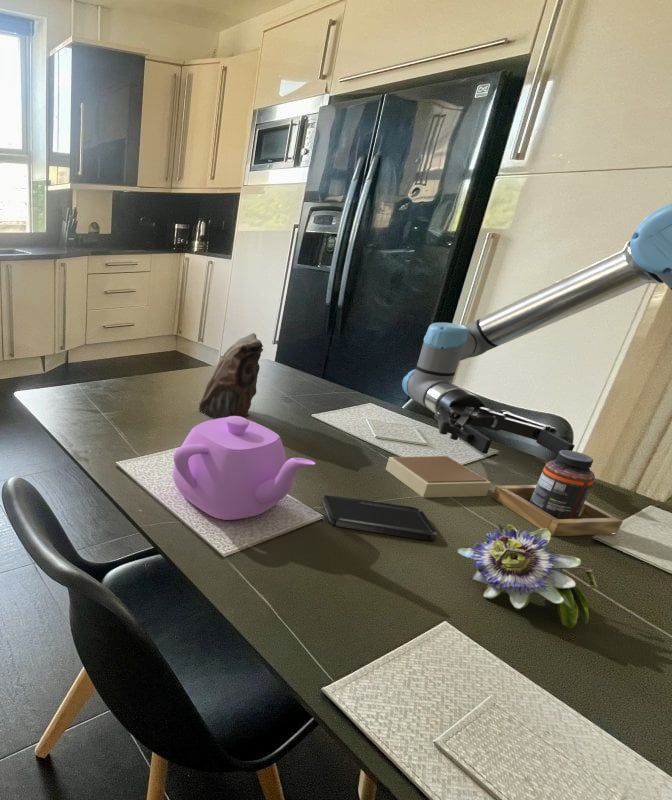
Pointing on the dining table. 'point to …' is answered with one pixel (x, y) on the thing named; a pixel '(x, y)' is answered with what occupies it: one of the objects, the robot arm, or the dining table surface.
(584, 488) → the supplement bottle
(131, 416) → the dining table surface
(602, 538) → the dining table surface
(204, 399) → the owl
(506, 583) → the passion flower
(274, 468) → the teapot
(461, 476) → the stand
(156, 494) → the dining table surface
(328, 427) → the dining table surface
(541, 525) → the rectangular wooden frame
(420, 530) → the phone
